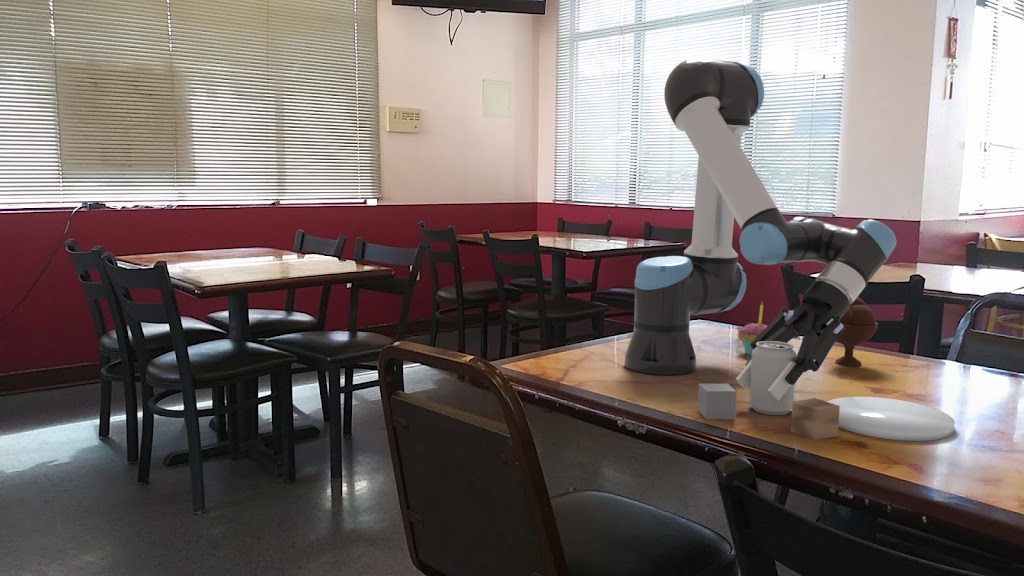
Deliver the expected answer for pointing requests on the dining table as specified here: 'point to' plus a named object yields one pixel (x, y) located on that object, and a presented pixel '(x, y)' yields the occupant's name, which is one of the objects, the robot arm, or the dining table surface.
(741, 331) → the cupcake
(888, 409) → the plate
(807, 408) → the wooden cube
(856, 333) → the ice cream bowl
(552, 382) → the dining table surface
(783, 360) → the can
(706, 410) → the gray block
